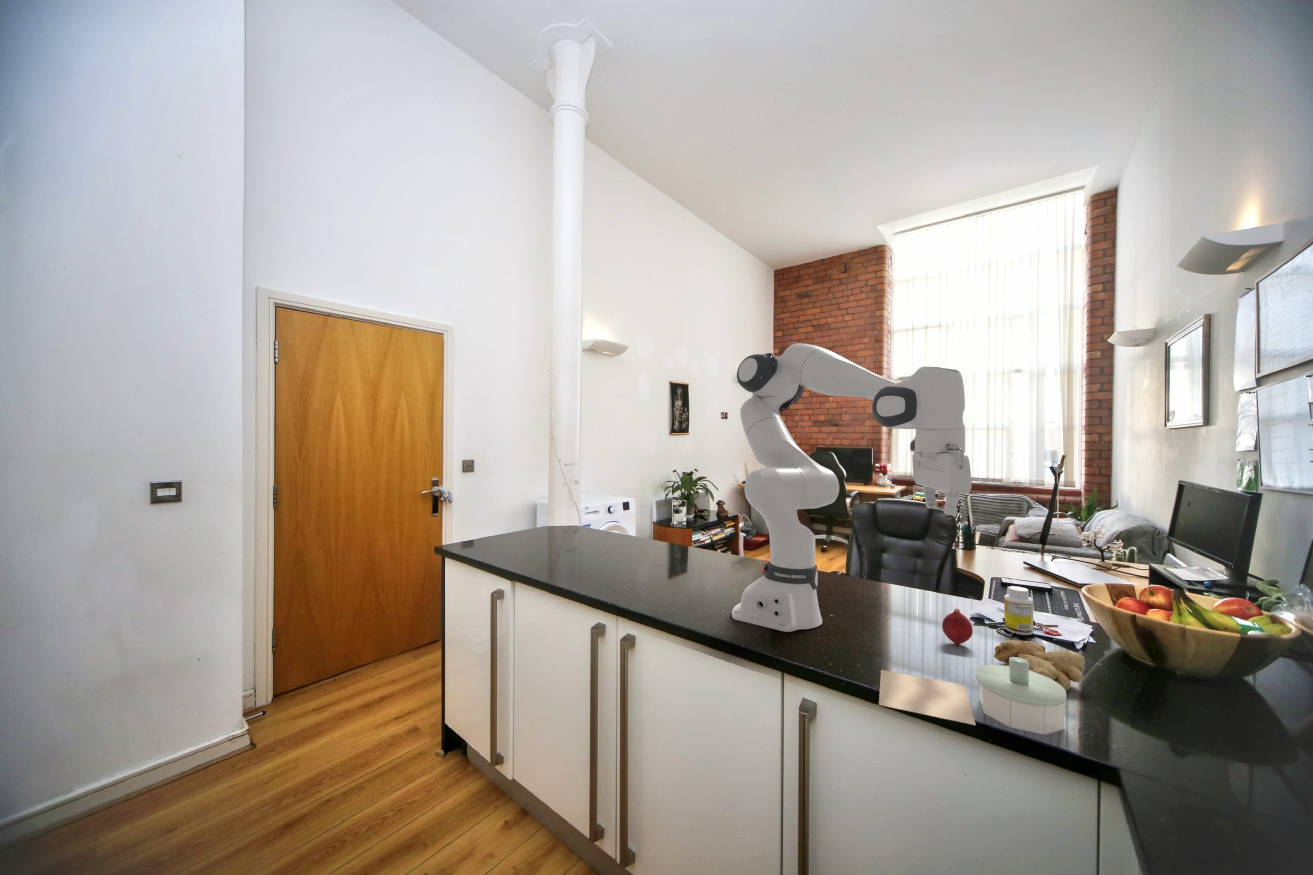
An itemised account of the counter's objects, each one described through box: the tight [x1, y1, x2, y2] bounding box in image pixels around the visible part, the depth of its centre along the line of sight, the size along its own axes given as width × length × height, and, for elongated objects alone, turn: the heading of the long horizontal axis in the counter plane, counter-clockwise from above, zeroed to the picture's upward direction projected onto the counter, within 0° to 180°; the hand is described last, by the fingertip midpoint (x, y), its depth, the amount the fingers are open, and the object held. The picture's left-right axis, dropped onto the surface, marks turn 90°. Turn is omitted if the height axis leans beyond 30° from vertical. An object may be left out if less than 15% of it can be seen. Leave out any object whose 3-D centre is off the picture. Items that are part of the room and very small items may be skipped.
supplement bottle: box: [1003, 585, 1034, 636], centre depth 117 cm, size 6×6×10 cm
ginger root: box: [993, 639, 1086, 692], centre depth 94 cm, size 16×16×8 cm
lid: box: [975, 657, 1067, 706], centre depth 81 cm, size 12×12×4 cm
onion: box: [941, 607, 973, 646], centre depth 110 cm, size 6×6×8 cm
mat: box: [878, 669, 977, 726], centre depth 87 cm, size 14×14×1 cm
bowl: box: [979, 684, 1065, 735], centre depth 81 cm, size 11×11×5 cm
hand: (940, 511), depth 101 cm, fingers open, 8 cm apart
